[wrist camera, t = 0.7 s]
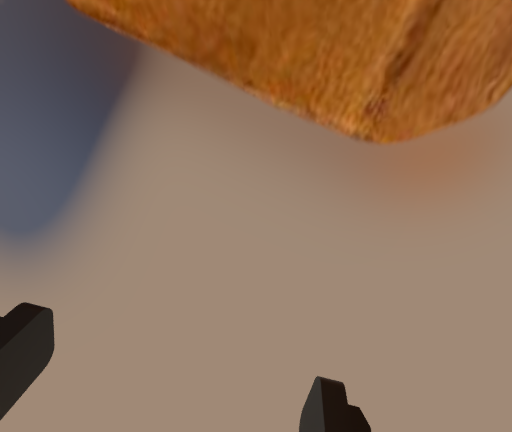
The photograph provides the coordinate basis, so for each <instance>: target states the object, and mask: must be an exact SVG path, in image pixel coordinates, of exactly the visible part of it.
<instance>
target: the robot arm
mask: <svg viewBox="0 0 512 432" xmlns="http://www.w3.org/2000/svg"><path fill="white" fill-rule="evenodd" d="M53 351H54V325H53V312H52V310H51V309H50V308H46V307H41V306H38V305H34V304H30V303H26V302H25V303H21V304H19V305H18V306H16V307H15V308H14V309H13V310H11V311H10V312H9V313H8V314H7V315H5V316H4V317H0V420H1V419H2V418H3V417H4V415H5V414H6V413H7V412H8V411H9V410H10V408H11V407H12V406H13V405H14V404H15V403H16V401H17V400H18V399H19V398H20V397H21V396H22V394H23V393H24V392H25V391H26V390H27V388H28V387H29V386H30V385H31V384H32V383H33V381H34V380H35V379H36V378H37V377H38V376H39V374H40V373H41V372H42V371H43V369H44V368H45V367H46V366H47V364H48V362H49V361H50V359H51V357H52V354H53ZM299 432H371V428H370V426H369V424H368V422H367V420H366V418H365V417H364V415H363V413H362V411H361V410H360V408H359V407H356V406H352V405H348V403H347V396H346V391H345V386H344V384H343V383H342V382H339V381H335V380H331V379H327V378H323V377H319V376H317V377H316V378H315V380H314V383H313V385H312V388H311V390H310V393H309V395H308V398H307V400H306V402H305V405H304V407H303V410H302V414H301V419H300V426H299Z"/></svg>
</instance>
